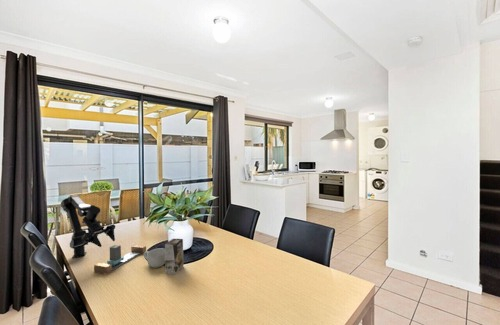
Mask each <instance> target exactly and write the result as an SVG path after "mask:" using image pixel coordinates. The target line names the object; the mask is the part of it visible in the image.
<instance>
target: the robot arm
mask: <svg viewBox="0 0 500 325" xmlns="http://www.w3.org/2000/svg"><path fill="white" fill-rule="evenodd" d="M60 206H61V208H62V210H63V211H64V212H65V213H67V216H68V220H69V223H70V226H71V230H72V235H71V240H70V242H69V248H70V249H72V250H73V255H72V256H71V258H72V259H73V258H81V257H85V256H86V255H87V251H86V249H85V248H86V247H85V246H86V245H88V246H89V243H91V244H93V245H95V246H97V247H99V248H101V247H102V243H101V241H100V239H99V238H98V236H99V235H101V234H106V235H105V236H106V237H107V236H108V237H109V238H110V239H111V241H112V242H115V241H116V238H115V229H116V227H117V226H116V225H115V224H114V223H111V224H108V225H107V226H104V225H101V221H100V220H97V218H98V217H99V214H100V213H101V208H100V207H98V206H96V205H95V204H88V203H85V202H84V201H83V200H82V198H80V196H79V195H77V194H76V195H70V196H68V197H67V198H64V199H63V200H61V201H60ZM79 217H80V218H82V221H81V222H82V224H84V225H85V226H86V227H87V231H86V229H85V230H83V229H82V225H81V222H80V218H79Z"/></svg>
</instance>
